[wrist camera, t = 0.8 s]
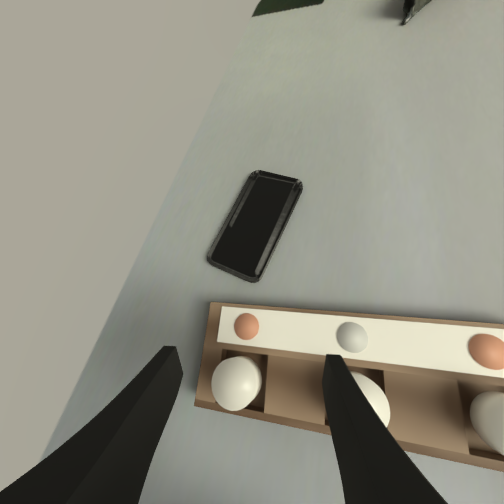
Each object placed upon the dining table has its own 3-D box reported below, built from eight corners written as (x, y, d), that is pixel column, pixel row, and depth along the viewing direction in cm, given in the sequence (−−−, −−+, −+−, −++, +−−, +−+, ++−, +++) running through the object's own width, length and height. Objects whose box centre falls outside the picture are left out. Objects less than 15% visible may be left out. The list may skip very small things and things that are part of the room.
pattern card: (543, 382, 17) (547, 383, 17) (217, 341, 24) (216, 341, 24) (528, 331, 18) (532, 331, 18) (222, 306, 25) (221, 306, 25)
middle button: (383, 431, 18) (392, 444, 16) (329, 420, 19) (331, 431, 17) (379, 374, 19) (387, 379, 17) (329, 367, 20) (331, 371, 18)
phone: (305, 180, 30) (256, 284, 27) (305, 185, 31) (258, 286, 28) (252, 168, 33) (203, 260, 30) (254, 173, 34) (206, 263, 31)
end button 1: (259, 407, 21) (253, 415, 18) (219, 399, 22) (207, 405, 20) (263, 358, 22) (257, 361, 20) (224, 353, 23) (215, 355, 21)
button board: (564, 472, 17) (604, 493, 14) (205, 399, 24) (193, 405, 22) (525, 329, 20) (552, 327, 18) (219, 304, 28) (210, 301, 26)
